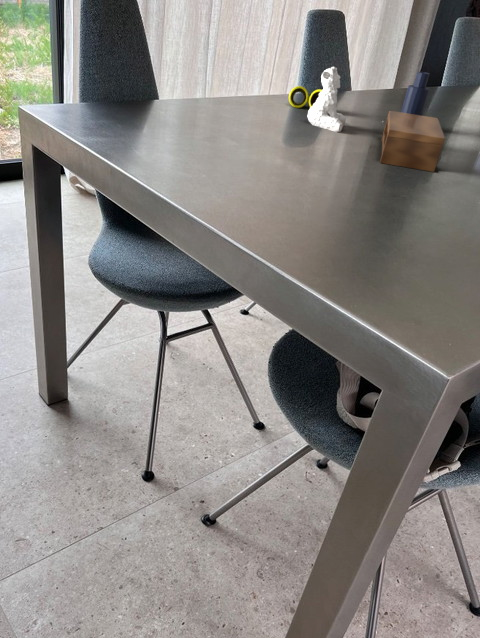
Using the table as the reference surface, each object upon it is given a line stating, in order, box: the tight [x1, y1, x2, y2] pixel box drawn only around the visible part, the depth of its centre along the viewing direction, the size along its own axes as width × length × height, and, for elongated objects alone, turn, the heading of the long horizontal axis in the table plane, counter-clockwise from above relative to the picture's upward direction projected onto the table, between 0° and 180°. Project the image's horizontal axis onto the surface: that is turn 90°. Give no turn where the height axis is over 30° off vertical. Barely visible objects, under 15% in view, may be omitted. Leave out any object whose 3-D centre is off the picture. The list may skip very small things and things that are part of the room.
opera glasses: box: [288, 85, 323, 109], centre depth 143 cm, size 10×5×5 cm, turn 69°
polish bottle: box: [400, 71, 431, 116], centre depth 133 cm, size 5×5×12 cm
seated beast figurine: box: [306, 66, 347, 133], centre depth 126 cm, size 10×9×12 cm
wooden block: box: [379, 110, 446, 173], centre depth 113 cm, size 10×20×6 cm, turn 164°
